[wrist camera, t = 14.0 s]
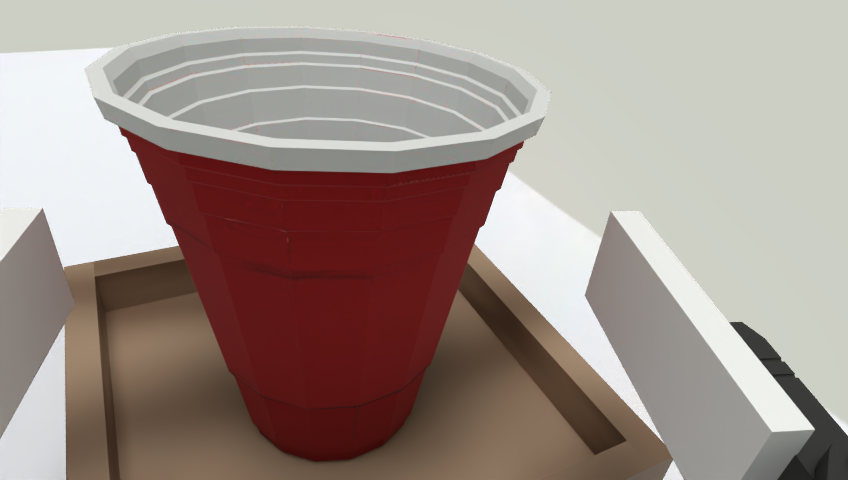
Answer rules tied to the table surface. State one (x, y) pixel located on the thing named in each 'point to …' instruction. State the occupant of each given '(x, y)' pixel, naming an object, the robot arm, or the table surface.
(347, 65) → the plastic cup
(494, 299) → the cup tray
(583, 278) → the table surface
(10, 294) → the robot arm
